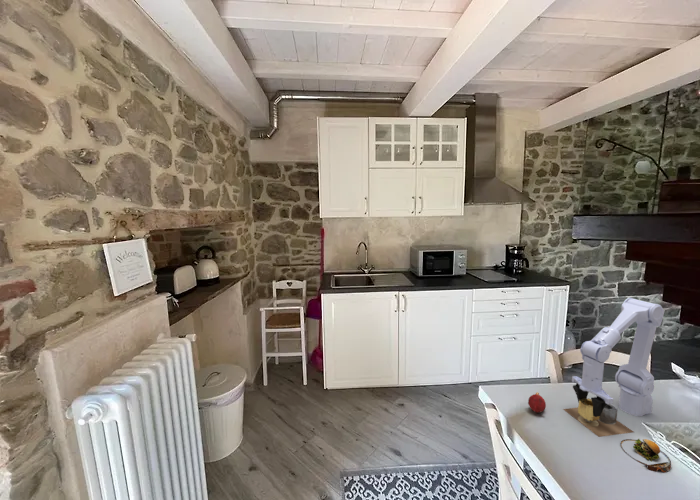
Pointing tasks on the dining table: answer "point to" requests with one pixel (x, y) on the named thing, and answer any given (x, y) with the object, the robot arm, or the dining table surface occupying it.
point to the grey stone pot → (608, 414)
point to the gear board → (599, 425)
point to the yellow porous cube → (586, 409)
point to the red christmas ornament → (537, 403)
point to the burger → (650, 454)
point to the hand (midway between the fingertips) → (589, 410)
